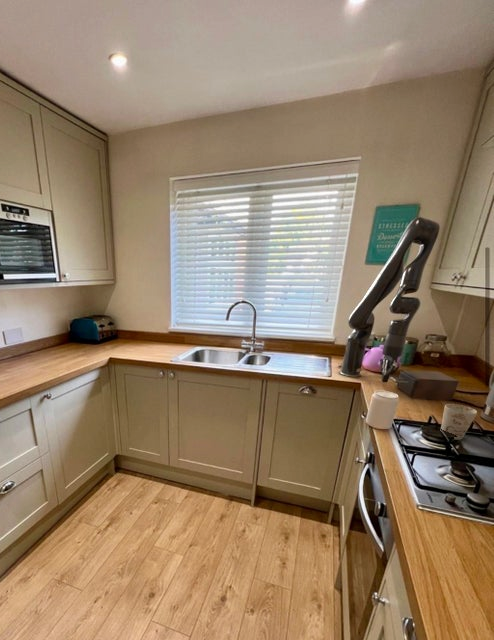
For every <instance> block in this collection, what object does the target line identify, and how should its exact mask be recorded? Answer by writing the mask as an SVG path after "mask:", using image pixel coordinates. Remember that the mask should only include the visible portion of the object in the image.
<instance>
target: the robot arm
mask: <svg viewBox="0 0 494 640" xmlns="http://www.w3.org/2000/svg"><path fill="white" fill-rule="evenodd" d="M440 230H441V225H440V223H439V222H437V221H435V220H432V219H429V218H425V217H422V216H417V217H414V218H413V219H412V220H411V221H410V223H408V225H407V226H406V228H405V230H404V231H403V233H402V235H401V237H400V238H399V240H398V243H397V245H396V246H395V248H394V249H393V252H392V253H391V255H390V256H389V257H388V260H387V261H386V262H385V264H384V266H383V267H382V268H381V270H380V272H379V273H378V274H377V276H376V278H375V279H374V281H373V283H372V284H371V286H370V287H369V289H368V290H367V292H366V293H365V295H364V297H363V298H362V300H361V301H360V302H359V304H358V305H357V306H356V307H355V309H353V311H352V312H351V314H350V315H349V318H348V321H347V323H348V327H349V328H350V329H351V330H352V332H351V333H350V334H349V335H348V336H347V340H346V345H345V349H344V354H343V359H342V362H341V364H340V365H338V366H337V367H338V368H340V372H339V373H340V374H341V375H342V376H346V377H350V378H351V377H352V378H357V377H360V375H361V372H362V370H363V368H362V367H363V365H362V362H363V358H364V356H365V355H366V351H365V350H366V349H367V345H368V341H369V339H370V338H371V336H372V331H373V328H374V325H375V318H376V317H375V314H374V313H373V312H374V310H375V309H376V307H377V306H378V305H379V304H380V303H382V302H383V301H384V300H385V299H386V298H387V297H388V296H389V295H390V294H392V292H393V291H394V290H395V288H396V287H397V285H398V284H399V287H398V289H397V292H396V293H395V295H394V297H393V298H392V300H391V302H390V304H389V307H388V308H389V309H388V310H389V312H390V313H391V314H395V315H405V317H403V318H400V319H393V320H391V321H390V322H389V327H388V331H387V333H386V334H387V335H386V337H385V338H384V339H385V340H384V344H383V345H384V347H383V351H382V354H383V355H385V356H384V358H383V359H380V366H381V371H382V372H381V373H382V376H381V380H380V381H381V382H382V383H384V384H387V383H389V380H390V376H393V375H394V374H395V373H396V372H397V371H398V370H399V369H400V367H399V365H398V364H397V365H396V363H397V360H398V358H399V357H400V356H402V357H403V351H404V348H405V345H406V342H407V335H408V331H409V328H410V325H411V323H412V320H413V319H414V318H415V316H416V314H417V313H418V311H419V309H420V307H421V300H420V299H419V297H415V296H405V295H409V294H414V293H417V292H418V291H419V289H420V286H421V282H422V278H423V274H424V271H425V267H426V265H427V262H428V260H429V258H430V256H431V253H432V251H433V248H434V246H435V244H436V242H437V239H438V237H439V234H440ZM412 244H416V245H418V246H419V249H418V253H417V255H416V256H415V257H414V258H413V259H412V260H411V261H410V262H409V263H408V264H407V266H406V267H405V259H406V254H407V253H408V250H409V249H410V247H411V245H412ZM399 282H400V283H399Z"/></svg>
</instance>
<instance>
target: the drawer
mask: <svg viewBox="0 0 494 640" xmlns="http://www.w3.org/2000/svg"><path fill="white" fill-rule="evenodd" d="M389 380H390V381H391V382H393V383H394V384H396V388H398V389H399V388H400V389H399V390H400V391H402V390H403V391H402V392H404V393H405V392H406V393H407V394H406V393H405V394H406V395H408V394H409V395H412V396H413V394H414V390H415V387H416V384H417V380H416V379H414V378H412V377H411V376H410V375H408V374H406V373H404V372H403V371H400V372H399V376H398V377H393V376H389ZM409 395H408V396H409Z"/></svg>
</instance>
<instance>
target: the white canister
mask: <svg viewBox="0 0 494 640" xmlns="http://www.w3.org/2000/svg"><path fill="white" fill-rule="evenodd" d="M399 402H400V398H399V395H398V394H397V393H396V392H392V391H388V390H375V391H374V393H372V394H371V398H370V402H369V406H368V410H367V414H366V418H365V423H366V424H367V425H368V426H370V427H371V428H374V429H378V430H389V429H391V428H392V426H393V423H394V419H395V416H396V413H397V409H398V405H399Z"/></svg>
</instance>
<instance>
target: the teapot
mask: <svg viewBox="0 0 494 640" xmlns="http://www.w3.org/2000/svg"><path fill="white" fill-rule="evenodd" d="M383 347H384V344H380V345H379V347H378V346H377V347H371V349H370V348H366V350H365V354H364V358H363V362H362V367H363V368H364V369H366V370H368V371H370V372H377V373H382V371H381V366H380V359H383V358H384V356H385V355H383V354H382V351H383ZM366 351H367V352H366ZM402 358H403V355H402V356H400V357H398V358H397V363H396V365H397V366H399V368H401V366H402V363H401V362H400V361H401V359H402Z"/></svg>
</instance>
